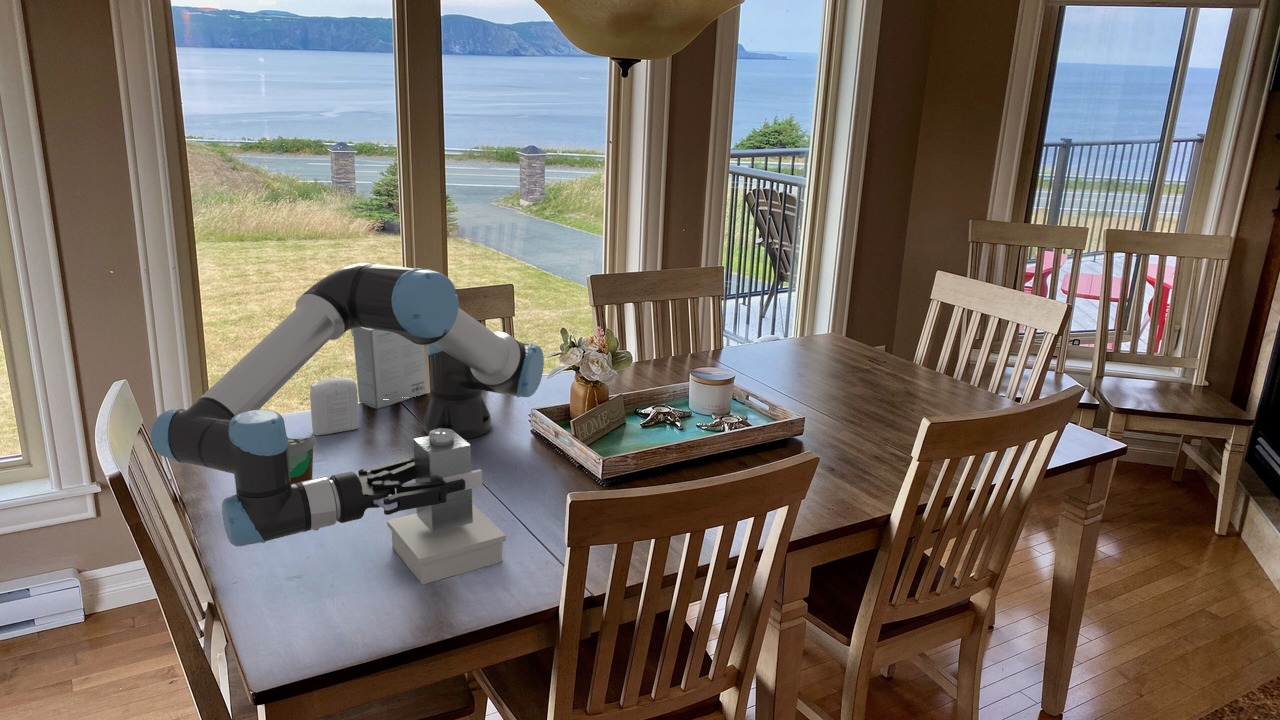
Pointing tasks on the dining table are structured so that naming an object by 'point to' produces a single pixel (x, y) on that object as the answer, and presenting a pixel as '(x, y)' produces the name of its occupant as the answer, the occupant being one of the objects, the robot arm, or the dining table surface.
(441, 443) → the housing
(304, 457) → the food container
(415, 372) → the hard drive box
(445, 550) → the plinth
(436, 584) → the dining table surface
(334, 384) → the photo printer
